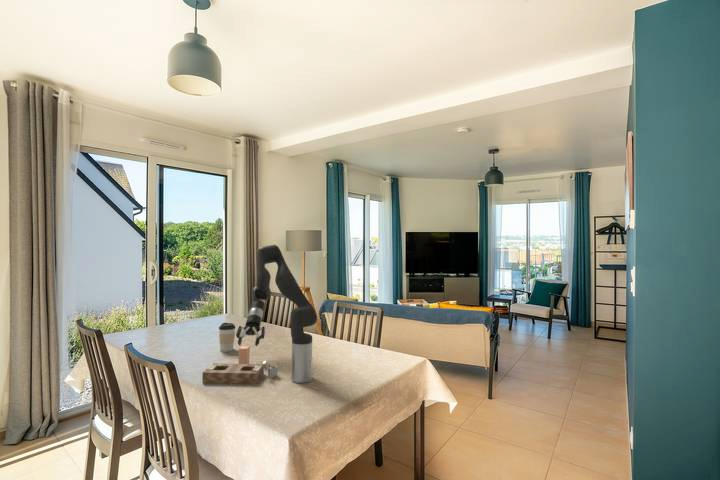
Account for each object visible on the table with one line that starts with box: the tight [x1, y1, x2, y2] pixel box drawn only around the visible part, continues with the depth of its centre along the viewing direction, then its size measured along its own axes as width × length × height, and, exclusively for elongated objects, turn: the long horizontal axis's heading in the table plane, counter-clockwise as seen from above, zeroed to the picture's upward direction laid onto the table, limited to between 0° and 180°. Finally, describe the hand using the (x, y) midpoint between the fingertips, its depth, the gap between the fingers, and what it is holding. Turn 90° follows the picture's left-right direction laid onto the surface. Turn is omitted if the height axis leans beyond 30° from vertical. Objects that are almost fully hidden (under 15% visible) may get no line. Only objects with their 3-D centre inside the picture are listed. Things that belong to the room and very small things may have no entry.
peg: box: [238, 345, 251, 364], centre depth 183 cm, size 4×4×10 cm
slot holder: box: [201, 362, 265, 385], centre depth 169 cm, size 24×12×5 cm, turn 90°
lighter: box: [262, 360, 279, 379], centre depth 171 cm, size 7×2×8 cm, turn 133°
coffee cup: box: [218, 322, 236, 353], centre depth 211 cm, size 9×9×15 cm
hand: (247, 345), depth 188 cm, fingers open, 8 cm apart
